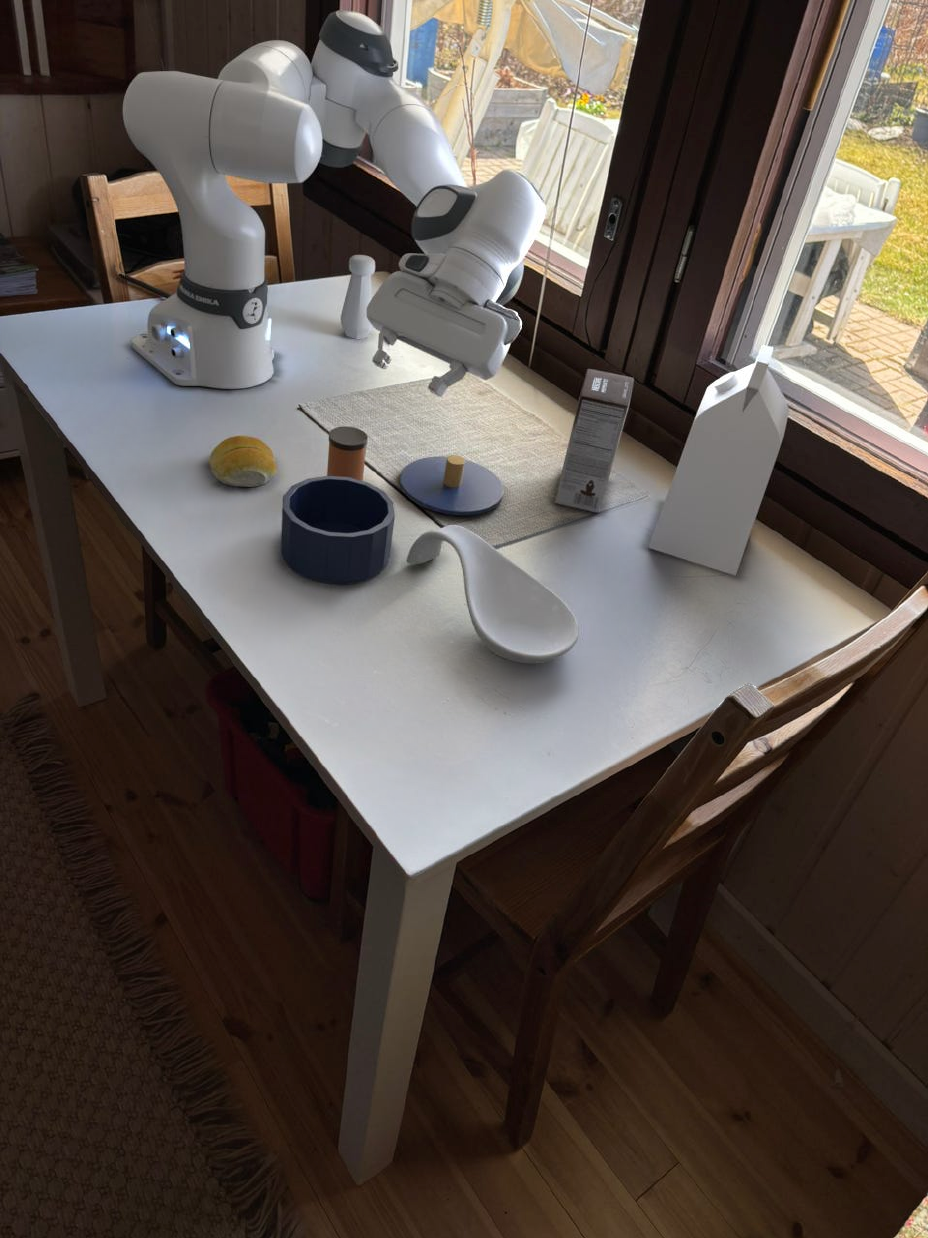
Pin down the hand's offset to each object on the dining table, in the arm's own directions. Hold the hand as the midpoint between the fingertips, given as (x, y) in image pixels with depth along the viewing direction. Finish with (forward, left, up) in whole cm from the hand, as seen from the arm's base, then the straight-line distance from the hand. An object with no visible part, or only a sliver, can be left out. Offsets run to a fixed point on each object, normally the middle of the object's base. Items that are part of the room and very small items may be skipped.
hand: (405, 378), depth 122 cm
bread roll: (-11, -17, -13) cm, 24 cm away
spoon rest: (+28, -17, -13) cm, 35 cm away
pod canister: (0, -10, -13) cm, 16 cm away
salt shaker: (-33, +28, -13) cm, 45 cm away
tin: (+9, -21, -13) cm, 26 cm away
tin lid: (+9, +1, -12) cm, 15 cm away
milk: (+38, +18, -13) cm, 44 cm away
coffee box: (+21, +15, -13) cm, 29 cm away
